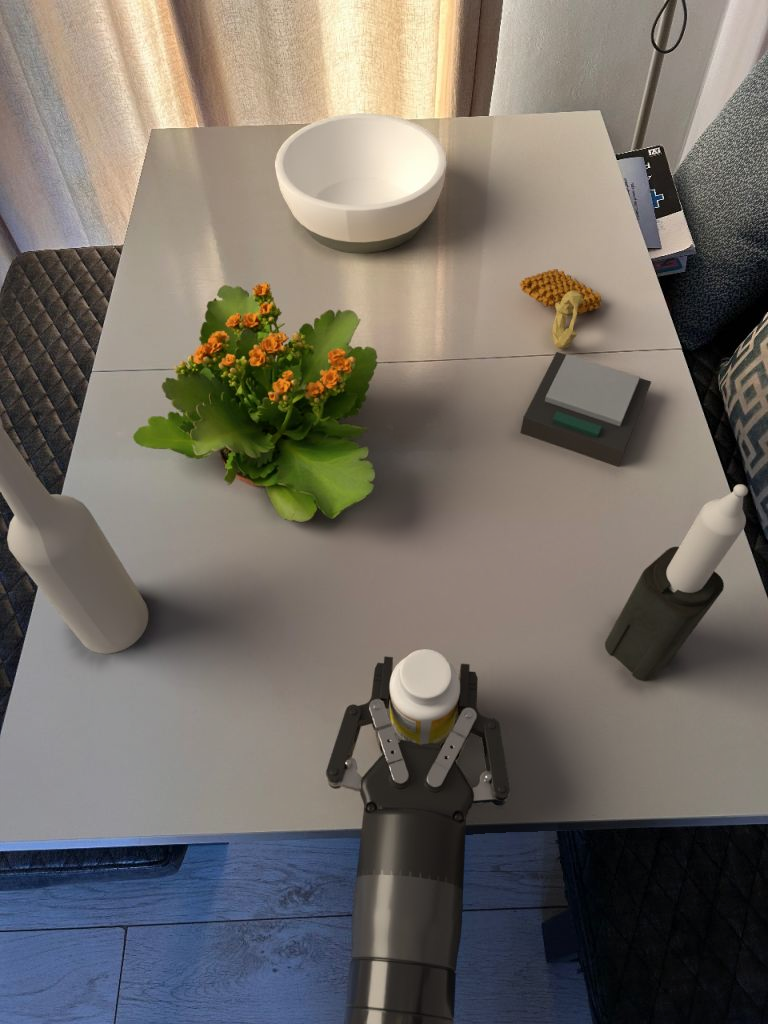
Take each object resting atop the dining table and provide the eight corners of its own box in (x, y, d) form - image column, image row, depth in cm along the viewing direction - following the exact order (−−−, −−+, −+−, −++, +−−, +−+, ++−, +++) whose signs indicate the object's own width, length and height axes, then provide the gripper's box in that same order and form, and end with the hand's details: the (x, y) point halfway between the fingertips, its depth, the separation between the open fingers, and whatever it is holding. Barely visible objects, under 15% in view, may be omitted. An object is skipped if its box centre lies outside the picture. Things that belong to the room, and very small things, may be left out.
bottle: (76, 599, 73) (-73, 399, 50) (145, 583, 74) (31, 379, 51) (79, 661, 70) (-80, 477, 46) (152, 643, 70) (32, 454, 47)
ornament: (525, 239, 95) (538, 297, 84) (604, 258, 96) (628, 318, 85) (507, 288, 100) (518, 349, 89) (583, 305, 101) (603, 368, 90)
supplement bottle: (455, 691, 68) (464, 642, 59) (452, 754, 64) (461, 711, 56) (392, 685, 68) (392, 636, 59) (386, 748, 65) (386, 705, 56)
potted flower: (127, 540, 77) (66, 426, 62) (167, 370, 90) (124, 243, 76) (376, 540, 76) (372, 425, 62) (379, 369, 90) (376, 242, 75)
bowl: (451, 174, 112) (455, 118, 105) (434, 273, 99) (437, 216, 92) (300, 163, 114) (294, 107, 107) (266, 259, 101) (256, 202, 95)
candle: (599, 645, 70) (685, 483, 49) (635, 612, 72) (733, 443, 51) (643, 686, 68) (753, 534, 47) (679, 651, 69) (800, 490, 49)
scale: (645, 397, 87) (653, 376, 84) (617, 466, 81) (625, 446, 78) (552, 367, 90) (557, 346, 87) (520, 432, 84) (524, 412, 81)
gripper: (520, 893, 50) (520, 652, 59) (301, 869, 51) (336, 636, 60) (506, 908, 56) (508, 688, 65) (311, 887, 57) (342, 673, 66)
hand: (426, 664), depth 63 cm, fingers closed on supplement bottle, 5 cm apart
